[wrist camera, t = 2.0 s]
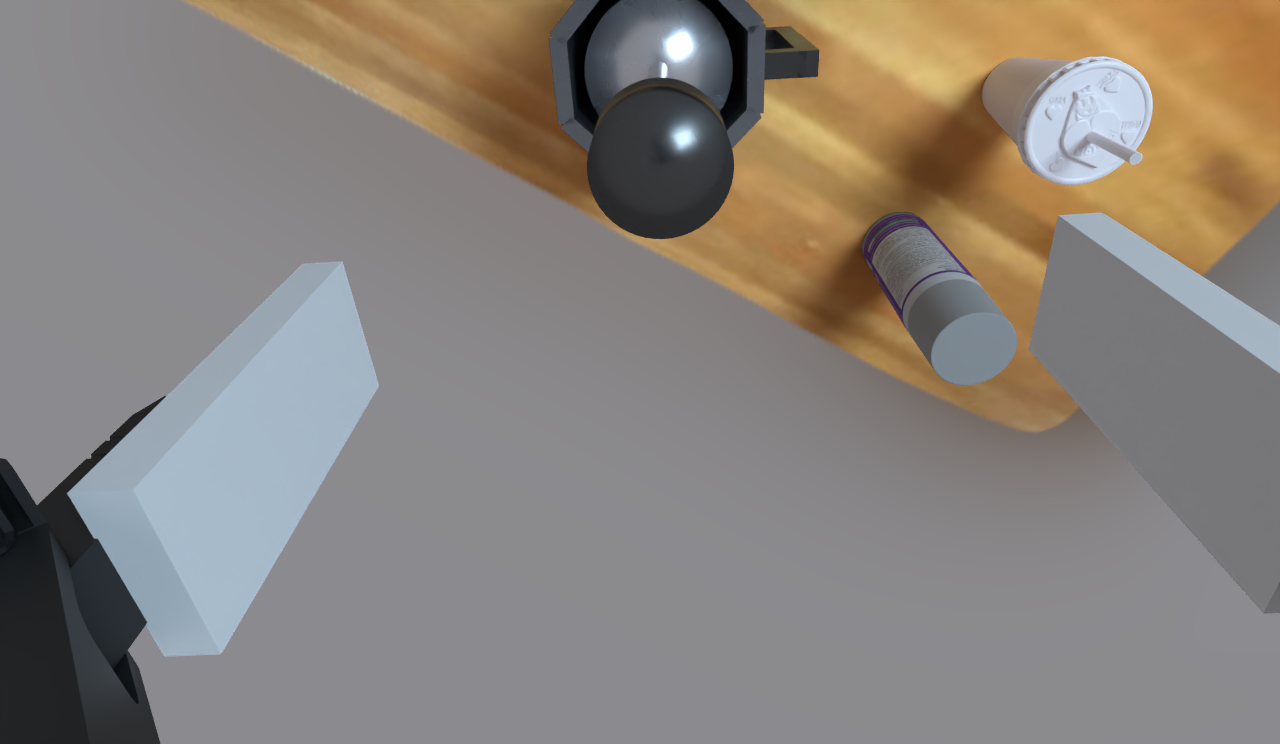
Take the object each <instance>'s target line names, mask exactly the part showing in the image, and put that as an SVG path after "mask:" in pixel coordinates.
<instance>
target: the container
mask: <svg viewBox="0 0 1280 744" xmlns="http://www.w3.org/2000/svg"><path fill="white" fill-rule="evenodd" d="M862 251H863V256H864V259H865V261H866V263H867V265H868V266H869V268H870V270H871V271H872V273H873V275H874V276H875V278H876V280H877V281H878V283H879V285H880V286H881V288H882V290H883V291H884V293H885V295H886V296H887V298H888V300H889V301H890V303H891V305H892V306H893V308H894V310H895V311H896V313H897V314H898V316H899V318H900V319H901V321H902V323H903V324H904V326H905V328H906V329H907V331H908V332H909V334H910V335H911V337H912V338H913V340H914V341H915V342H916V344H917V345H918V347H919V348H920V350H921V351H922V353H923V354H924V356H925V357H926V359H927V360H928V362H929V363H930V365H931V366H932V368H933V369H934V371H935V372H936V373H937V375H938V376H939V377H941V378H942V379H943V380H945V381H947V382H950V383H952V384H957V385H973V384H978V383H981V382H984V381H987V380H989V379H991V378H993V377H994V376H996V375H997V374H999V373H1000V372H1001V371H1002V370H1003V369H1004V368H1005V367H1006V366H1007V365H1008V364H1009V363H1010V361H1011V360H1012V358H1013V356H1014V354H1015V351H1016V347H1017V335H1016V332H1015V329H1014V327H1013V326H1012V324H1011V323H1010V322H1009V321H1008V319H1007V318H1006V317H1005V316H1004V314H1003V313H1002V312H1001V311H1000V309H999V308H998V307H997V306H996V304H995V303H994V302H993V300H992V299H991V298H990V297H989V295H988V294H987V293H986V292H985V290H984V289H983V288H982V287H981V285H980V284H979V283H978V282H977V280H976V279H975V278H974V277H973V276H972V275H971V274H970V272H969V271H968V270H967V269H966V268H965V267H964V266H963V265H962V263H961V262H960V261H959V260H958V259H957V258H956V257H955V256H954V254H953V253H952V252H951V251H950V250H949V249H948V248H947V246H946V245H945V244H944V243H943V242H942V241H941V240H940V239H939V237H938V236H937V235H936V234H935V233H934V232H933V231H932V229H931V228H930V227H929V226H928V225H927V224H926V223H925V222H924V221H923V220H922V219H921V218H920V217H918V216H916V215H914V214H912V213H907V212H896V213H892V214H889V215H886V216H884V217H882V218H881V219H879V220H878V221H876V222H875V223H874V224H873V225H872V226H871V227H870V229H869V230H868V232H867V233H866V235H865V238H864V241H863V246H862Z"/></svg>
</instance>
